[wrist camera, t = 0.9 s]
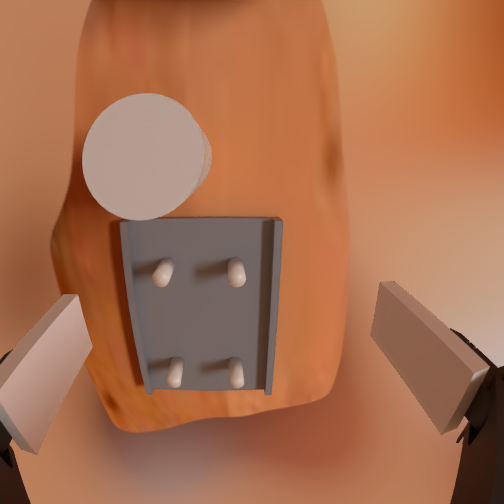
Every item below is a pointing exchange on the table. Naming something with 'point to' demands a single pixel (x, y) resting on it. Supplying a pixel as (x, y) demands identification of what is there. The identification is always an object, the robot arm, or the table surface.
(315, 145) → the table surface
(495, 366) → the robot arm
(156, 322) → the tray
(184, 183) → the cup
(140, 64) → the table surface
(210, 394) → the table surface
